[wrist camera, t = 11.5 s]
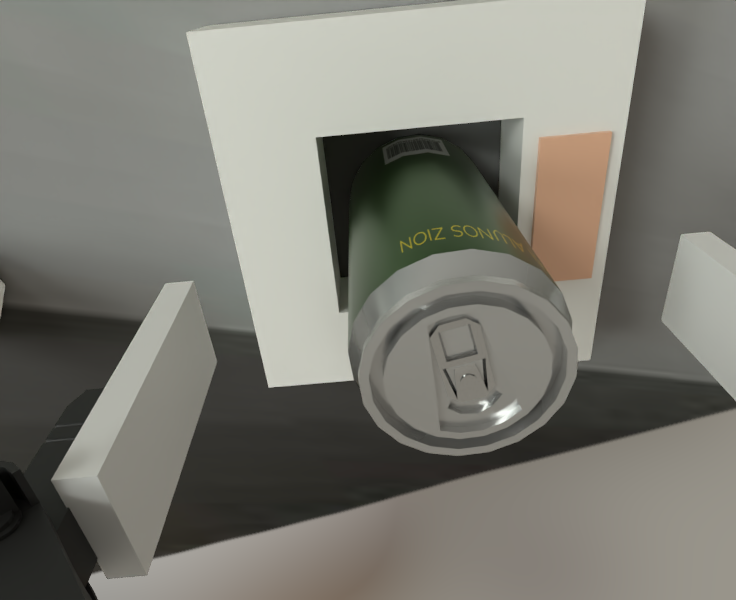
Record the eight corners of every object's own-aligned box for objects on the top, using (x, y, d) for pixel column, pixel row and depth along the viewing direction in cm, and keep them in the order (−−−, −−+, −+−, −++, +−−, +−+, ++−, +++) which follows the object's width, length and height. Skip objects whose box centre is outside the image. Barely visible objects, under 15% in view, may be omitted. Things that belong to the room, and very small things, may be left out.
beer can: (331, 154, 21) (313, 312, 11) (463, 110, 21) (575, 237, 10) (371, 268, 24) (387, 483, 14) (489, 233, 23) (600, 432, 13)
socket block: (276, 347, 26) (268, 390, 23) (208, 25, 19) (184, 32, 16) (566, 322, 26) (592, 362, 23) (607, -15, 19) (651, -14, 16)
